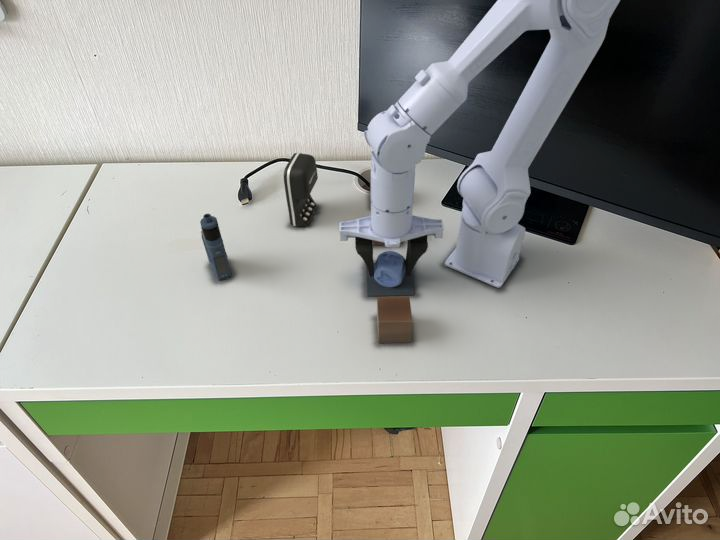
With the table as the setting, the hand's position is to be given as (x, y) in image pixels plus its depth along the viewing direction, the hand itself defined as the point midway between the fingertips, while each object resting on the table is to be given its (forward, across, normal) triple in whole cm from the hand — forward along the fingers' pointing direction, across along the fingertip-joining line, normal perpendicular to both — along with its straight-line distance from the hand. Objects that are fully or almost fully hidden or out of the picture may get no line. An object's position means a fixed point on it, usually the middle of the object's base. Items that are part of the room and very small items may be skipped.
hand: (389, 271), depth 81 cm
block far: (+2, 0, +20) cm, 20 cm away
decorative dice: (+2, 0, 0) cm, 2 cm away
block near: (+2, 0, -10) cm, 10 cm away
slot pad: (+2, 0, 0) cm, 2 cm away
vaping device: (+2, -26, +3) cm, 27 cm away
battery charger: (+2, -14, +16) cm, 21 cm away
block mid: (+2, 0, +10) cm, 10 cm away
